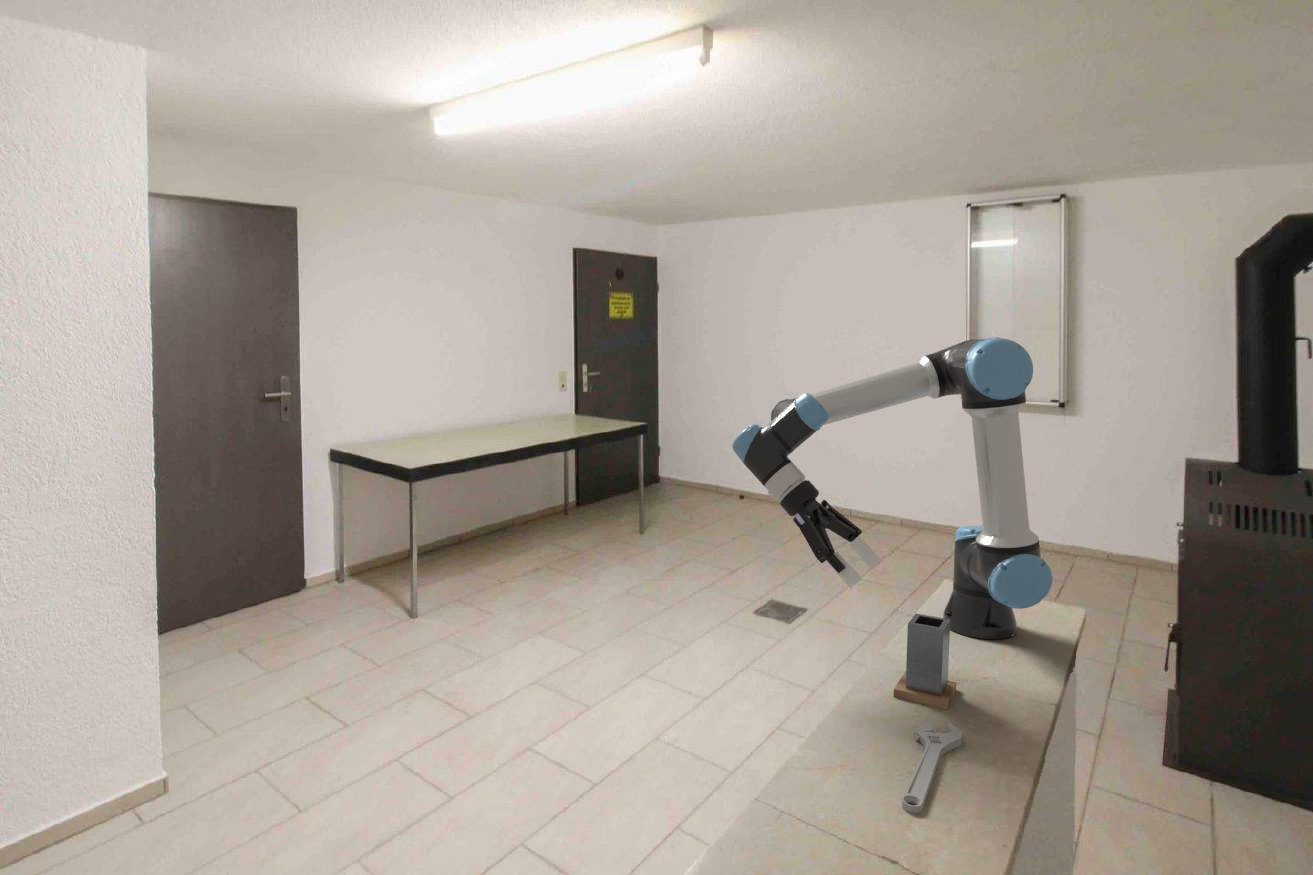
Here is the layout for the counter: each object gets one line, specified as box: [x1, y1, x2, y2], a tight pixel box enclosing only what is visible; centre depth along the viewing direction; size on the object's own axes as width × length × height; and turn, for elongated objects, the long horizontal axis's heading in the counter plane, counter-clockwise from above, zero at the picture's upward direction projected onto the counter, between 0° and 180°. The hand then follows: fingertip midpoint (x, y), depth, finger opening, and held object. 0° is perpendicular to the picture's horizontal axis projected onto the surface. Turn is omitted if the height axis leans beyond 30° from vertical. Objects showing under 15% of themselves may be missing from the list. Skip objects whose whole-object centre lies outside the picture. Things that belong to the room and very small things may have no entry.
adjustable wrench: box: [901, 722, 963, 814], centre depth 107 cm, size 25×6×2 cm, turn 144°
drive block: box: [893, 670, 957, 711], centre depth 130 cm, size 9×9×6 cm
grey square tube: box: [905, 613, 951, 696], centre depth 129 cm, size 6×6×12 cm
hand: (867, 574), depth 138 cm, fingers open, 13 cm apart
